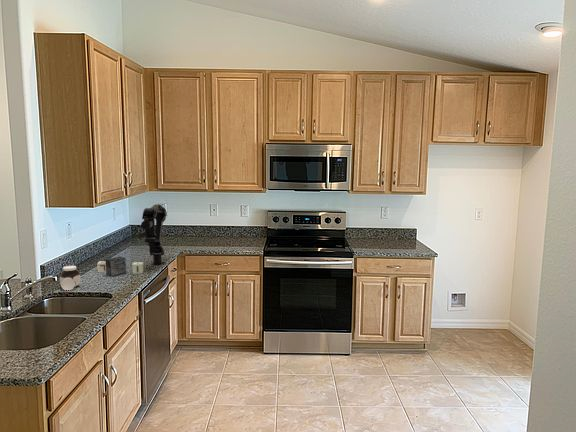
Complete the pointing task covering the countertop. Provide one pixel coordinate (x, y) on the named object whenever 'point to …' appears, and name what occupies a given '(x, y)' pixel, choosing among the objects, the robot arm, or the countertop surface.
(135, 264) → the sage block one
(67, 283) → the spread jar
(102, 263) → the cream block seven
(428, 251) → the countertop surface
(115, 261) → the small box
